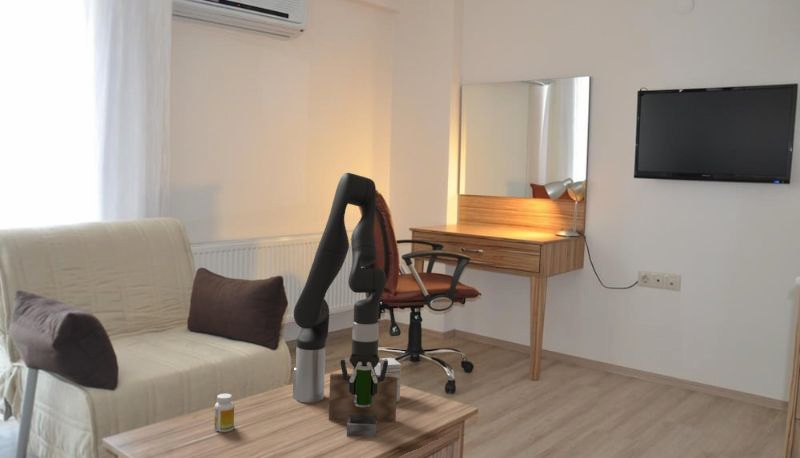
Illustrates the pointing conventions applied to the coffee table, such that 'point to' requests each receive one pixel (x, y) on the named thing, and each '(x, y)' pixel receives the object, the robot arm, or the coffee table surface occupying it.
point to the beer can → (363, 386)
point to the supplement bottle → (224, 413)
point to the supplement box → (391, 372)
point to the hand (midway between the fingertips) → (363, 394)
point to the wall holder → (362, 418)
